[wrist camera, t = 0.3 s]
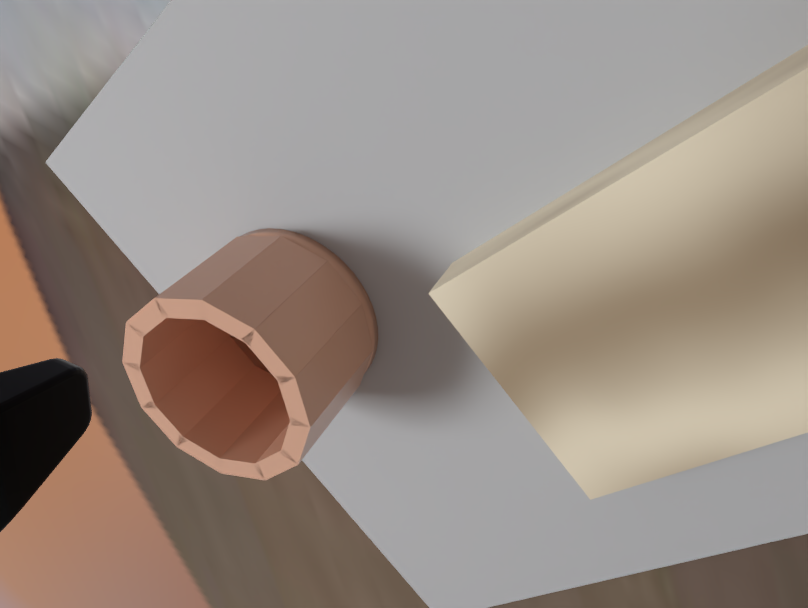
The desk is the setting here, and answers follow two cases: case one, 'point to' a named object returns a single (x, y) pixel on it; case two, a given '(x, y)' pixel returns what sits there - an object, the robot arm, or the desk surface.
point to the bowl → (253, 352)
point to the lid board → (658, 295)
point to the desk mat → (434, 241)
